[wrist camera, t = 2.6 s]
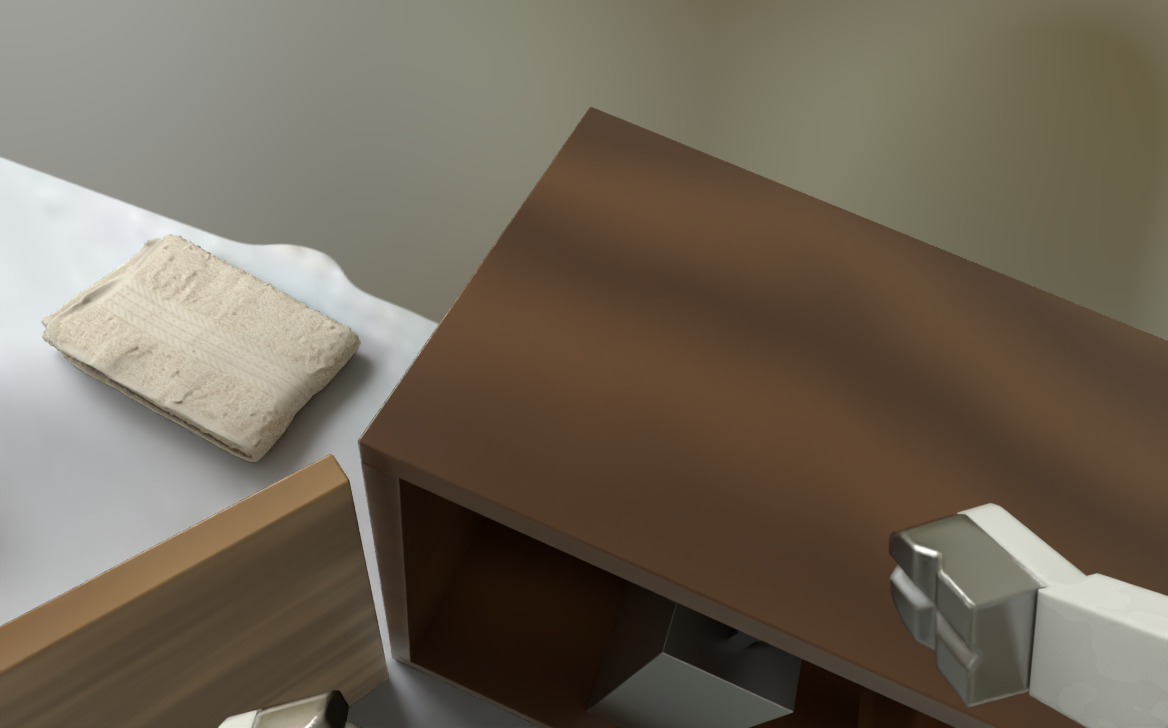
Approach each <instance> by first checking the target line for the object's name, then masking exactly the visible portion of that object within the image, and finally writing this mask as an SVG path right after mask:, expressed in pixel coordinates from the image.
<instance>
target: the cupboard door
mask: <svg viewBox="0 0 1168 728" xmlns="http://www.w3.org/2000/svg"><path fill="white" fill-rule="evenodd" d="M388 678H389V675H388V670H387V665H386V660H385V655H384V650H383V645H382V641H381V636H380V631H379V626H378V621H377V616H376V611H375V606H374V601H373V596H372V591H371V586H370V581H369V576H368V571H367V566H366V561H365V556H364V551H363V546H362V541H361V536H360V531H359V526H358V521H357V516H356V511H355V506H354V501H353V496H352V491H351V486H350V481H349V479H348V477H347V476H346V474H345V473H344V471H343V470H342V468H341V467H340V465H339V464H338V462H337V461H336V459H335V457H334V456H333V455H332V454H329V455H327V456H325V457H323V458H322V459H320V460H318V461H316V462H314V463H312V464H310V465H308V466H306V467H304V468H302V469H301V470H299V471H297V472H295V473H293V474H291V475H289V476H287V477H285V478H283V479H281V480H279V481H278V482H276V483H274V484H272V485H270V486H268V487H266V488H264V489H262V490H260V491H258V492H256V493H255V494H253V495H251V496H249V497H247V498H245V499H243V500H241V501H239V502H237V503H235V504H233V505H232V506H230V507H228V508H226V509H224V510H222V511H220V512H218V513H216V514H214V515H212V516H211V517H209V518H207V519H205V520H203V521H201V522H199V523H197V524H195V525H193V526H191V527H189V528H188V529H186V530H184V531H182V532H180V533H178V534H176V535H174V536H172V537H170V538H168V539H166V540H165V541H163V542H161V543H159V544H157V545H155V546H153V547H151V548H149V549H147V550H145V551H143V552H142V553H140V554H138V555H136V556H134V557H132V558H130V559H128V560H126V561H124V562H122V563H120V564H119V565H117V566H115V567H113V568H111V569H109V570H107V571H105V572H103V573H101V574H99V575H98V576H96V577H94V578H92V579H90V580H88V581H86V582H84V583H82V584H80V585H78V586H76V587H75V588H73V589H71V590H69V591H67V592H65V593H63V594H61V595H59V596H57V597H55V598H53V599H52V600H50V601H48V602H46V603H44V604H42V605H40V606H38V607H36V608H34V609H32V610H30V611H29V612H27V613H25V614H23V615H21V616H19V617H17V618H15V619H13V620H11V621H9V622H8V623H6V624H4V625H2V626H0V728H218V727H219V726H220V725H221V724H222V723H223V722H224V721H225V720H226V719H227V718H228V717H231V716H235V715H239V714H243V713H247V712H251V711H255V710H259V709H263V707H267V706H271V705H275V704H279V703H283V702H287V701H291V700H295V699H299V698H303V697H307V696H311V695H314V694H318V693H322V692H326V691H330V690H340V692H341V693H342V695H343V697H344V698H345V700H346V702H347V703H348V705H349V706H351V705H352V704H353V703H355V702H356V701H358V700H359V699H360V698H362V697H363V696H364V695H366V694H367V693H369V692H370V691H371V690H373V689H374V688H375V687H377V686H378V685H380V684H381V683H382V682H384V681H385V680H386V679H388Z"/></svg>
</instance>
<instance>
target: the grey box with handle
mask: <svg viewBox="0 0 1168 728" xmlns="http://www.w3.org/2000/svg"><path fill="white" fill-rule="evenodd" d="M801 660H802V658H799V657H797V656H795V655H793V654H790V653H788V652H786V651H784V650H782V649H779V648H777V647H775V646H773V645H770V644H768V643H766V642H764V641H762V640H759V639H757V638H755V637H753V636H750V635H748V634H746V633H744V632H742V631H739V630H737V629H735V628H733V627H730V626H728V625H726V624H724V623H721V622H719V621H717V620H715V619H713V618H710V617H708V616H706V615H704V614H701V613H699V612H697V611H695V610H693V609H690V608H688V607H686V606H684V605H681V604H679V603H677V602H675V601H673V600H670V599H668V598H666V597H664V596H661V595H659V594H657V593H655V592H652V591H650V590H648V589H646V588H644V587H641V586H639V585H637V584H635V583H632V582H630V583H629V586H628V589H627V592H626V595H625V598H624V601H623V604H622V607H621V610H620V613H619V616H618V619H617V622H616V625H615V628H614V631H613V634H612V637H611V639H610V642H609V645H608V648H607V651H606V654H605V657H604V660H603V663H602V666H601V669H600V672H599V675H598V678H597V681H596V684H595V687H594V690H593V693H592V696H591V699H590V702H589V705H588V708H587V712H588V713H590V714H593V715H595V716H597V717H599V718H601V719H603V720H606V721H608V722H610V723H612V724H614V725H616V726H619V727H621V728H749V727H752V726H755V725H758V724H761V723H764V722H767V721H770V720H773V719H776V718H779V717H781V716H784V715H787V714H790V713H793V711H794V705H795V698H796V692H797V686H798V679H799V673H800V667H801Z"/></svg>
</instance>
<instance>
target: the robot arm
mask: <svg viewBox="0 0 1168 728" xmlns="http://www.w3.org/2000/svg"><path fill="white" fill-rule="evenodd" d="M889 554H890V556H891V557H892V558H893V559H894V560H895V561H896V563H897V564H898V565H897V567H896V568H895V570H894V571H893V573H892V574H891V576H890V588H891V596H892V599H893V602H894V605H895V608H896V611H897V614H898V615H899V617H900V619H901V621H902V622H903V624H904V626H905V628H906V629H907V630H908V632H909V633H910V634H911V636H912V637H913V638H914V640H915V641H916V642H917V643H920V644H922V645H924V646H926V647H928V648H930V649H932V650H935V651H936V668H937V669H938V671H939V672H940V673H941V674H942V676H943V677H944V678H945V679H946V681H947V682H948V683H949V685H950V686H951V687H952V688H953V690H954V691H955V692H956V693H957V695H958V696H959V697H960V698H961V700H962V701H963V702H964V704H965V705H966V706H967V707H971V706H975V705H979V704H983V703H987V702H990V701H994V700H998V699H1002V698H1006V697H1009V696H1013V695H1017V694H1021V693H1025V692H1028V691H1029V695H1030V696H1032V697H1033V698H1035V699H1037V700H1039V701H1040V702H1042V703H1044V704H1046V705H1047V706H1049V707H1051V708H1053V709H1054V710H1056V711H1058V712H1060V713H1061V714H1063V715H1065V716H1067V717H1068V718H1070V719H1072V720H1074V721H1075V722H1077V723H1079V724H1081V725H1082V726H1084V727H1086V728H1168V596H1166V595H1163V594H1160V593H1157V592H1154V591H1151V590H1148V589H1144V588H1141V587H1138V586H1135V585H1132V584H1129V583H1126V582H1123V581H1120V580H1117V579H1114V578H1111V577H1108V576H1104V575H1101V574H1098V573H1096V574H1092V575H1088V576H1086V575H1085V574H1084V573H1083V572H1081V571H1080V570H1079V569H1078V568H1076V567H1075V566H1074V565H1073V564H1071V563H1070V562H1069V561H1068V560H1066V559H1065V558H1064V557H1063V556H1061V555H1060V554H1059V553H1058V552H1057V551H1055V550H1054V549H1053V548H1052V547H1050V546H1049V545H1048V544H1047V543H1045V542H1044V541H1043V540H1042V539H1040V538H1039V537H1038V536H1037V535H1035V534H1034V533H1033V532H1032V531H1031V530H1029V529H1028V528H1027V527H1026V526H1024V525H1023V524H1022V523H1021V522H1019V521H1018V520H1017V519H1016V518H1014V517H1013V516H1012V515H1011V514H1009V513H1008V512H1007V511H1006V510H1005V509H1003V508H1002V507H1001V506H999V505H996V504H993V503H989V504H985V505H982V506H978V507H975V508H972V509H968V510H965V511H961V512H958V513H957V514H951V515H948V516H945V517H941V518H938V519H934V520H931V521H927V522H924V523H921V524H917V525H914V526H910V527H907V528H904V529H900V530H897V531H893V532H892V533H891V535H890V538H889ZM348 710H349V705H348V703H347V702H346V700H345V698H344V697H343V695H342V693H341V692H340V690H330V691H326V692H322V693H318V694H314V695H311V696H307V697H303V698H299V699H295V700H291V701H287V702H283V703H279V704H275V705H271V706H267V707H263V709H259V710H255V711H251V712H247V713H243V714H239V715H235V716H231V717H228V718H227V719H226V720H225V721H224V722H223V723H222V724H221V725H220V726H219V727H218V728H360V727H358V726H356V725H354V724H352V723H350V722H348V721H347V715H348Z"/></svg>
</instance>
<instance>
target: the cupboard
mask: <svg viewBox="0 0 1168 728" xmlns="http://www.w3.org/2000/svg"><path fill="white" fill-rule="evenodd" d="M358 445H359V451H360V458H361V466H362V472H363V478H364V484H365V491H366V497H367V503H368V509H369V515H370V522H371V528H372V534H373V540H374V547H375V553H376V559H377V565H378V572H379V578H380V584H381V590H382V596H383V603H384V609H385V615H386V621H387V628H388V634H389V640H390V646H391V653H392V658H394V659H396V660H398V661H401V662H403V663H405V664H407V665H409V666H411V667H413V668H416V669H418V670H420V671H422V672H424V673H426V674H428V675H431V676H433V677H435V678H437V679H439V680H441V681H443V682H446V683H448V684H450V685H452V686H454V687H456V688H458V689H461V690H463V691H465V692H467V693H469V694H471V695H473V696H476V697H478V698H480V699H482V700H484V701H486V702H488V703H491V704H493V705H495V706H497V707H499V708H501V709H503V710H506V711H508V712H510V713H512V714H514V715H516V716H518V717H521V718H523V719H525V720H527V721H529V722H531V723H533V724H536V725H538V726H540V727H542V728H621V727H619V726H616V725H614V724H612V723H610V722H608V721H606V720H603V719H601V718H599V717H597V716H595V715H593V714H590V713H588V712H587V708H588V705H589V702H590V699H591V696H592V693H593V690H594V687H595V684H596V681H597V678H598V675H599V672H600V669H601V666H602V663H603V660H604V657H605V654H606V651H607V648H608V645H609V642H610V639H611V637H612V634H613V631H614V628H615V625H616V622H617V619H618V616H619V613H620V610H621V607H622V604H623V601H624V598H625V595H626V592H627V589H628V586H629V583H630V582H632V583H635V584H637V585H639V586H641V587H644V588H646V589H648V590H650V591H652V592H655V593H657V594H659V595H661V596H664V597H666V598H668V599H670V600H673V601H675V602H677V603H679V604H681V605H684V606H686V607H688V608H690V609H693V610H695V611H697V612H699V613H701V614H704V615H706V616H708V617H710V618H713V619H715V620H717V621H719V622H721V623H724V624H726V625H728V626H730V627H733V628H735V629H737V630H739V631H742V632H744V633H746V634H748V635H750V636H753V637H755V638H757V639H759V640H762V641H764V642H766V643H768V644H770V645H773V646H775V647H777V648H779V649H782V650H784V651H786V652H788V653H790V654H793V655H795V656H797V657H799V658H802V660H801V667H800V673H799V679H798V686H797V692H796V698H795V705H794V711H793V713H790V714H787V715H784V716H781V717H779V718H776V719H773V720H770V721H767V722H764V723H761V724H758V725H755V726H752V727H749V728H1086V727H1084V726H1082V725H1081V724H1079V723H1077V722H1075V721H1074V720H1072V719H1070V718H1068V717H1067V716H1065V715H1063V714H1061V713H1060V712H1058V711H1056V710H1054V709H1053V708H1051V707H1049V706H1047V705H1046V704H1044V703H1042V702H1040V701H1039V700H1037V699H1035V698H1033V697H1032V696H1030V695H1029V691H1028V692H1025V693H1021V694H1017V695H1013V696H1009V697H1006V698H1002V699H998V700H994V701H990V702H987V703H983V704H979V705H975V706H971V707H967V706H966V705H965V704H964V702H963V701H962V700H961V698H960V697H959V696H958V695H957V693H956V692H955V691H954V690H953V688H952V687H951V686H950V685H949V683H948V682H947V681H946V679H945V678H944V677H943V676H942V674H941V673H940V672H939V671H938V669H937V668H936V651H935V650H932V649H930V648H928V647H926V646H924V645H922V644H920V643H917V642H916V641H915V640H914V638H913V637H912V636H911V634H910V633H909V632H908V630H907V629H906V628H905V626H904V624H903V622H902V621H901V619H900V617H899V615H898V614H897V611H896V608H895V605H894V602H893V599H892V596H891V588H890V576H891V574H892V573H893V571H894V570H895V568H896V567H897V565H898V564H897V563H896V561H895V560H894V559H893V558H892V557H891V556H890V554H889V538H890V535H891V533H892V532H893V531H897V530H900V529H904V528H907V527H910V526H914V525H917V524H921V523H924V522H927V521H931V520H934V519H938V518H941V517H945V516H948V515H951V514H957V513H958V512H961V511H965V510H968V509H972V508H975V507H978V506H982V505H985V504H989V503H993V504H996V505H999V506H1001V507H1002V508H1003V509H1005V510H1006V511H1007V512H1008V513H1009V514H1011V515H1012V516H1013V517H1014V518H1016V519H1017V520H1018V521H1019V522H1021V523H1022V524H1023V525H1024V526H1026V527H1027V528H1028V529H1029V530H1031V531H1032V532H1033V533H1034V534H1035V535H1037V536H1038V537H1039V538H1040V539H1042V540H1043V541H1044V542H1045V543H1047V544H1048V545H1049V546H1050V547H1052V548H1053V549H1054V550H1055V551H1057V552H1058V553H1059V554H1060V555H1061V556H1063V557H1064V558H1065V559H1066V560H1068V561H1069V562H1070V563H1071V564H1073V565H1074V566H1075V567H1076V568H1078V569H1079V570H1080V571H1081V572H1083V573H1084V574H1085V575H1086V576H1088V575H1092V574H1096V573H1098V574H1101V575H1104V576H1108V577H1111V578H1114V579H1117V580H1120V581H1123V582H1126V583H1129V584H1132V585H1135V586H1138V587H1141V588H1144V589H1148V590H1151V591H1154V592H1157V593H1160V594H1163V595H1166V596H1168V341H1166V340H1164V339H1161V338H1159V337H1157V336H1154V335H1152V334H1149V333H1147V332H1144V331H1141V330H1139V329H1137V328H1134V327H1132V326H1129V325H1127V324H1125V323H1122V322H1119V321H1117V320H1115V319H1112V318H1110V317H1107V316H1105V315H1102V314H1100V313H1097V312H1095V311H1093V310H1090V309H1087V308H1085V307H1083V306H1080V305H1078V304H1075V303H1073V302H1070V301H1068V300H1065V299H1063V298H1061V297H1058V296H1055V295H1053V294H1051V293H1048V292H1046V291H1043V290H1041V289H1038V288H1036V287H1033V286H1031V285H1028V284H1026V283H1024V282H1021V281H1019V280H1016V279H1014V278H1011V277H1009V276H1006V275H1004V274H1001V273H999V272H996V271H994V270H992V269H989V268H987V267H984V266H982V265H979V264H977V263H974V262H972V261H969V260H967V259H965V258H962V257H960V256H957V255H955V254H952V253H950V252H947V251H945V250H942V249H940V248H937V247H935V246H933V245H930V244H927V243H925V242H923V241H920V240H918V239H915V238H913V237H910V236H908V235H905V234H903V233H901V232H898V231H896V230H893V229H891V228H888V227H886V226H883V225H881V224H878V223H876V222H873V221H871V220H869V219H866V218H864V217H861V216H859V215H856V214H854V213H851V212H849V211H846V210H844V209H841V208H839V207H837V206H834V205H832V204H829V203H827V202H824V201H822V200H819V199H817V198H814V197H812V196H809V195H807V194H805V193H802V192H799V191H797V190H795V189H792V188H790V187H787V186H785V185H782V184H780V183H777V182H775V181H772V180H770V179H768V178H765V177H763V176H760V175H758V174H755V173H753V172H750V171H747V170H745V169H743V168H741V167H738V166H735V165H733V164H731V163H728V162H725V161H723V160H720V159H718V158H716V157H713V156H710V155H708V154H706V153H704V152H701V151H699V150H696V149H694V148H691V147H689V146H686V145H684V144H681V143H679V142H677V141H674V140H672V139H669V138H667V137H664V136H661V135H659V134H657V133H654V132H652V131H649V130H647V129H644V128H642V127H639V126H637V125H635V124H632V123H630V122H627V121H625V120H622V119H620V118H617V117H615V116H612V115H610V114H608V113H605V112H603V111H600V110H598V109H595V108H593V107H590V108H589V109H588V111H587V112H586V114H585V115H584V116H583V118H582V119H581V121H580V122H579V124H578V125H577V126H576V128H575V129H574V131H573V132H572V134H571V135H570V137H569V138H568V140H567V141H566V142H565V144H564V145H563V147H562V148H561V150H560V151H559V152H558V154H557V155H556V157H555V158H554V159H553V161H552V162H551V164H550V165H549V167H548V168H547V170H546V171H545V172H544V174H543V175H542V177H541V178H540V180H539V181H538V182H537V184H536V185H535V187H534V188H533V190H532V191H531V193H530V194H529V195H528V197H527V198H526V200H525V201H524V203H523V204H522V205H521V207H520V208H519V210H518V211H517V213H516V214H515V216H514V217H513V219H512V220H511V221H510V223H509V224H508V226H507V227H506V229H505V230H504V231H503V233H502V234H501V236H500V237H499V238H498V240H497V241H496V243H495V244H494V246H493V247H492V249H491V250H490V251H489V253H488V254H487V256H486V257H485V259H484V260H483V262H482V263H481V265H480V266H479V267H478V269H477V270H476V272H475V273H474V275H473V276H472V277H471V279H470V280H469V282H468V283H467V284H466V286H465V287H464V289H463V290H462V292H461V293H460V295H459V296H458V298H457V299H456V300H455V302H454V303H453V305H452V306H451V307H450V309H449V310H448V312H447V313H446V315H445V316H444V317H443V319H442V320H441V322H440V323H439V325H438V326H437V328H436V329H435V330H434V332H433V333H432V335H431V336H430V338H429V339H428V340H427V342H426V343H425V345H424V346H423V348H422V349H421V351H420V352H419V353H418V355H417V356H416V358H415V359H414V361H413V362H412V363H411V365H410V366H409V368H408V369H407V371H406V372H405V374H404V375H403V376H402V378H401V379H400V381H399V382H398V384H397V385H396V386H395V388H394V389H393V391H392V392H391V394H390V395H389V396H388V398H387V399H386V401H385V402H384V404H383V405H382V407H381V408H380V409H379V411H378V412H377V414H376V415H375V417H374V418H373V419H372V421H371V422H370V424H369V425H368V427H367V428H366V430H365V431H364V432H363V434H362V435H361V437H360V438H359V440H358Z"/></svg>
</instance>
